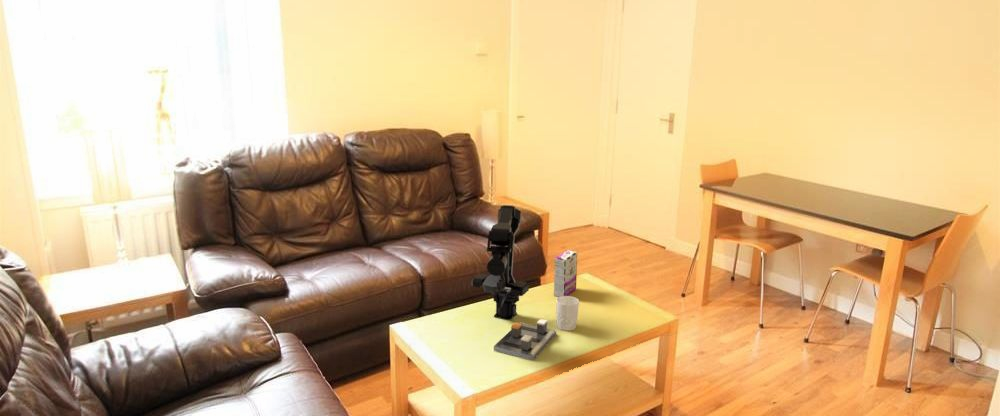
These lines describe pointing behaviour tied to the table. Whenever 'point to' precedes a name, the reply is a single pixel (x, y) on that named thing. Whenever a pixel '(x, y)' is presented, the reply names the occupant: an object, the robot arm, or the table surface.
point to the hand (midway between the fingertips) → (499, 308)
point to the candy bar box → (565, 273)
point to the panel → (513, 344)
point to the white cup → (567, 312)
